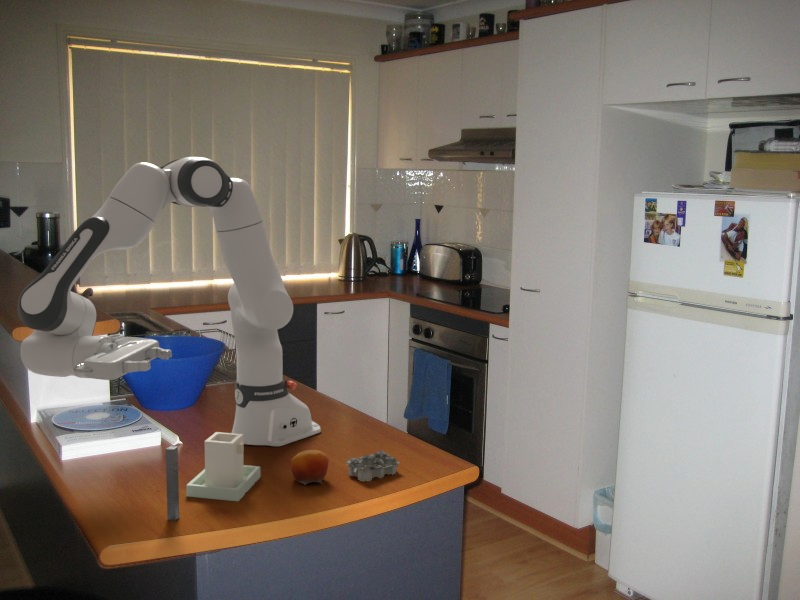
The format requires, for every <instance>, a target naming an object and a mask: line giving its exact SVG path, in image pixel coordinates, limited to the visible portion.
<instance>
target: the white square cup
mask: <svg viewBox="0 0 800 600" xmlns="http://www.w3.org/2000/svg"><path fill="white" fill-rule="evenodd" d="M203 443H204V469H205V485H208V486H219V487H229V488H236V487H237V486H238V485H239V484H240V483H241V482H242V481H243V479H244V475H243V465H244V451H245V449H244V448H245V446H244V445H245V444H244V443H243V434H235V433H232V432H221V431H215V432H214V433H213V434H212V435H210V436H209V437H208V438H207V439H205V440H204V442H203Z"/></svg>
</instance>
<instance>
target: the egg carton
mask: <svg viewBox="0 0 800 600" xmlns="http://www.w3.org/2000/svg"><path fill="white" fill-rule="evenodd" d="M399 464H401V461H400V460H399V461H397V459H396V458H395V457H392V455H390V453H386V452H385V451H384V450H383V449H381V450H379V451H378V452H377V451H376V452H375V453H371V454H369V453H368V454H365V455H363V456H359V457H350V458H349V459H348V460H346V462H345V465H346V466H348V476H349V475H350V476H358V477H357V481H358V480H360V481H362V482H365V481H370V482H372V481H373V479H375V478H374V477H379V478H378V479H380V478H381V479H383V478H385V474H387V475H390V474H392V475H391V476H393V474H395V475H396V474H397V467H399ZM350 476H349V477H350ZM382 477H383V478H382ZM372 478H373V479H372ZM371 480H372V481H371ZM360 481H359V482H360Z"/></svg>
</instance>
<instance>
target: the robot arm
mask: <svg viewBox="0 0 800 600" xmlns="http://www.w3.org/2000/svg"><path fill="white" fill-rule="evenodd" d="M171 203H172V204H175V205H177V206H178V205H179V206H185V207H188V208H189V207H190V208H195V207H206V208H207V209H208V211H209V213H210V214H211V216H212V218H213V223H214V226H215V231H216V234H217V238H218V241H219V242H218V243H219V247H220V250H221V254H222V258H223V261H224V264H225V266H226V268H227V270H228V272H229V274H230V276H231V279H232V281H233V284H231V286H230V288H229V290H228V293H227V301H228V306H229V309H230V318H231V323H232V330H233V331H232V332H233V337H234V342H235V350H236V352H235V353H236V380H235V382H234V383H235V384H234V400H235V413H234V421H233V426H232V430H231V433H235V434H243V443H244V445H252V446H271V447H282V446H285V445H288V444H291V443H293V442H297V441H299V440H302V439H305V438H308V437H311V436H314V435H316V434H319V433H321V432H322V431H321V430H322V429H321V426H320V425H319V424H318V423H317V422H315V421H313V420H312V413H311V411H310V408H309V407H308V406H307V404H306V403H304V402H302V401H301V400H300V399H298V398H297V397H296V396H294V395H293V394H291V393H290V391H289V390H291V391H294V390H296V388H297V386H298V383H296V381H292V380H286V379H284V378H283V346H282V344H281V341H280V337H279V332H278V330H280V329H282V328H284V327H285V326H286V325H288V323H289V322H290V321H291V320H292V317H293V315H294V304H293V300H292V299H291V297H290V295H289V294H288V292H287V289H286V287H285V284H284V281H283V279H282V276H281V273H280V271H279V269H278V266H277V264H276V262H275V259H274V257H273V254H272V251H271V248H270V245H269V241H268V237H267V231H266V227H265V224H264V221H263V217H262V212H261V210H260V206H259V204H258V201H257V198H256V196H255V194H254V192H253V189H252V187H251V185H250V183H249V182H247V181H246V180H245V179H242V178H238V177H230V176H229V175H228V174H227V173H226V171H224V170H223V168H222V167H221V165H220V164H218V163H217V162H216V161H214V160H212V159H210V158H207V157H203V156H202V157H201V156H186V157H183V158H178V159H175V160H172V161H170V162H168V163H166V164H164V165H163V166H161V167H160V166H157V165H155V164H153V163H149V162H143V161H142V162H137V163H134V164H133V165H132V166H131V167H130V168H129V169H128V170H127V171H126V172H125V173H124V175H122V177H121V178H120V179H119V180H118V182H117V183H116V184H115V186H114V187H113V189H112V190H111V192H110V193H109V195H108V197H107V198H106V200H105V201H104V203H103V204H102V206H101V207H100V208H98V210H97V211H96V212H95V213H94V214H93V215H92V216H91V217H90V218H87V219H86V220H84V221H83V222H82V223H81V224H80V225H79V226H78V228H76V229H75V231H73V233H72V234H71V235H70V237H69V238H68V239H67V241H66V242H65V243H64V244H63V245H62V247H61V249H60V250H59V251H58V252H57V253H56V255H55V256H54V257H53V259H52V260H51V261H50V262H49V264H48V265H47V266H46V268H44V270H43V271H42V272H41V273H40V274H39V275H38V276H37V277H35V279H33V280H32V281H31V282H30V283H28V284H27V285H26V286H25V287H24V288H23V290H22V291H21V293H20V295H19V297H18V300H17V314H18V317H19V320H20V321H21V322H22V324H23V325H25V326H26V327H27V328H29V329H31V330H34V331H33V332H32V333H31V334H30V335H29V336H27V337H25V338H24V339H23V340H22V342H21V344H20V349H19V350H20V353H19V355H20V359H21V362H22V364H23V366H24V367H25V368H26V369H27V370H28V371H29V372H31V373H33V374H36V375H41V376H47V377H56V378H57V377H58V378H67V377H70V376H74V377H77V378H80V379H94V380H101V381H102V380H104V381H112V380H117V379H119V378H121V377H122V376H124V375H126V374H128V373H129V374H130V373H136V372H147V371H149V370H150V369H151V368H152V365H151V361H152V360H155V359H157V358H159V359H160V360H169V359H171V358H172V357H173V356H172V355H173V354H172V350H171V349H165V348H162V347H160V342H159V341H158V340H156V339H153V338H145V337H144V338H143V337H135V336H133V337H132V336H127V337H125V335H124V334H123V333H116V334H115V333H114V334H110V335H94V331H95V327H96V325H97V321H98V319H97V318H98V312H97V308H96V306H95V304H94V303H93V301H92V300H91V299H88V298H86V297H85V296H83V295H82V294H81V295H80V294H79V293H77V292H74V291H71V290H72V288H73V286H74V285H75V283H76V282H77V281H78V280H79V278H80V277H81V275H83V273H84V272H85V270H86V269H87V268H88V266H90V264H91V262H92V261H93V260H94V259H95V258H96V257H97V256H100V255H101V254H102V253H105V252H108V251H123V250H130V249H132V248H136V247H138V246H140V244H141V243H143V241H144V240H145V239H146V238H147V236H148V235H149V234H150V232H151V230H152V229H153V228H154V225H155V224H156V222H157V220H158V218H159V217H160V215H161V213H162V211H163V210H164V209H165V208H166V207H167V206H168V205H169V204H171Z"/></svg>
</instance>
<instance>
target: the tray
mask: <svg viewBox="0 0 800 600" xmlns="http://www.w3.org/2000/svg"><path fill="white" fill-rule="evenodd" d="M243 475H244V479H243V481H242V482H241V483H240V484H239V485H238V486H237V487H236V488H229V487H219V486H208V485H205V468H204V469H202V471H200V472H199V473H198V474H197V475H196V476H195V477H193V479H191V480H190V481H189V482H188V483H187V484H186V485H185V486H186V489H185V491H186V493H185V494H186V497H188V498H189V497H190V498H197V499H199V498H200V499H209V500H221V501H229V502H230V501H231V502H239V501H240V500H241V499H243V497H244V496H245V495H246V494H247V493H246V492H249V490H250V489H251V488H252V487H253V486H254V485H255V484H256V483H257V482H258V481H259V480H260V478H261V466H260V465H258V466H257V465H246V464H243ZM255 482H256V483H255ZM245 493H246V494H245Z"/></svg>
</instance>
